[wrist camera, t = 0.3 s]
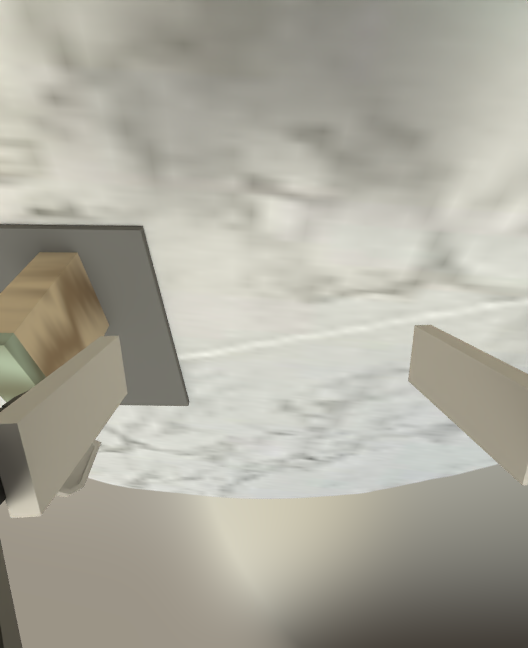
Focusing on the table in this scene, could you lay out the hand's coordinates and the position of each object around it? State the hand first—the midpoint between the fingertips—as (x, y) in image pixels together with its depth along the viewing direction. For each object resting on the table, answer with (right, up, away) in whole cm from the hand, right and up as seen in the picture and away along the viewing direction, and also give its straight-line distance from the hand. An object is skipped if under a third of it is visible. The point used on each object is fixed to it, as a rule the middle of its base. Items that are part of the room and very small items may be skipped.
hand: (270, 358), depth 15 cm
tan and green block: (-17, +4, +14) cm, 22 cm away
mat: (-17, 0, +19) cm, 25 cm away
